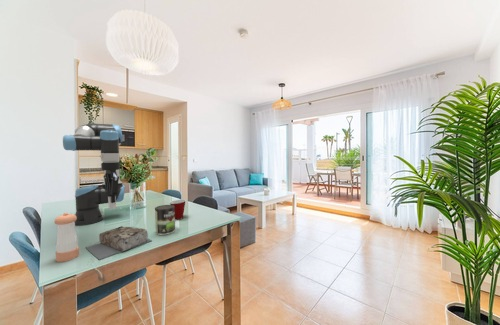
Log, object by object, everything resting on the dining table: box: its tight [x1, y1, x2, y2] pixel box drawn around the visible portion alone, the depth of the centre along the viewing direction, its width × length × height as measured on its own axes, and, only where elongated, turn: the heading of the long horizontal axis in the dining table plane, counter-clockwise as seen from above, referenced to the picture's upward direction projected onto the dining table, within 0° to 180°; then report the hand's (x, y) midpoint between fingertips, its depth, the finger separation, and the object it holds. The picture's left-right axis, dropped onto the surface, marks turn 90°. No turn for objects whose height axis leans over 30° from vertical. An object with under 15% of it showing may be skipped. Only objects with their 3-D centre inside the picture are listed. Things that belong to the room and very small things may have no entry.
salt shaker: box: [54, 212, 80, 263], centre depth 84 cm, size 7×7×19 cm
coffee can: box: [154, 204, 176, 236], centre depth 112 cm, size 10×10×14 cm
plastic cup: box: [168, 199, 187, 220], centre depth 135 cm, size 11×11×12 cm
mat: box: [85, 237, 152, 261], centre depth 96 cm, size 18×22×1 cm
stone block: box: [98, 226, 149, 252], centre depth 98 cm, size 13×7×20 cm
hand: (112, 208), depth 100 cm, fingers closed
